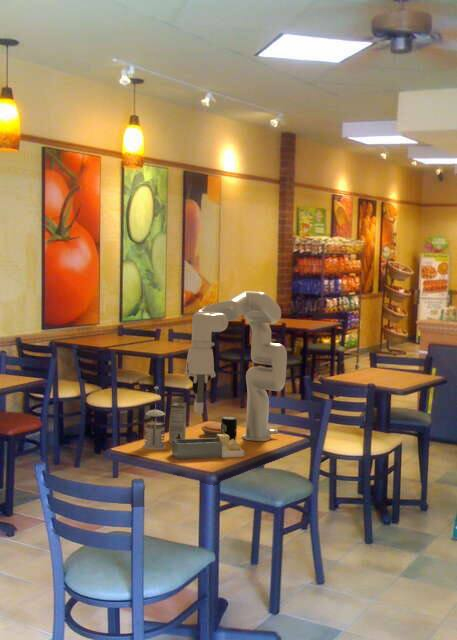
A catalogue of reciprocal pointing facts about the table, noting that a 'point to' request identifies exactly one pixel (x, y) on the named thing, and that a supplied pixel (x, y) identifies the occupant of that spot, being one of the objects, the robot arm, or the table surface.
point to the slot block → (196, 448)
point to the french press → (154, 431)
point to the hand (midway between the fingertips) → (199, 392)
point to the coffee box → (177, 421)
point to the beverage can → (229, 426)
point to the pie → (212, 429)
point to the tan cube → (223, 439)
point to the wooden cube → (233, 445)
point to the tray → (231, 453)
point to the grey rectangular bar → (199, 395)
